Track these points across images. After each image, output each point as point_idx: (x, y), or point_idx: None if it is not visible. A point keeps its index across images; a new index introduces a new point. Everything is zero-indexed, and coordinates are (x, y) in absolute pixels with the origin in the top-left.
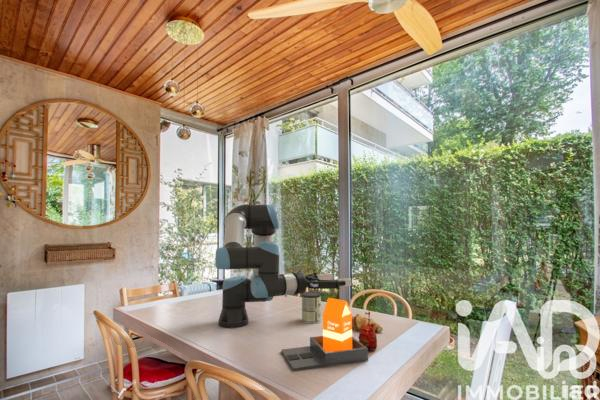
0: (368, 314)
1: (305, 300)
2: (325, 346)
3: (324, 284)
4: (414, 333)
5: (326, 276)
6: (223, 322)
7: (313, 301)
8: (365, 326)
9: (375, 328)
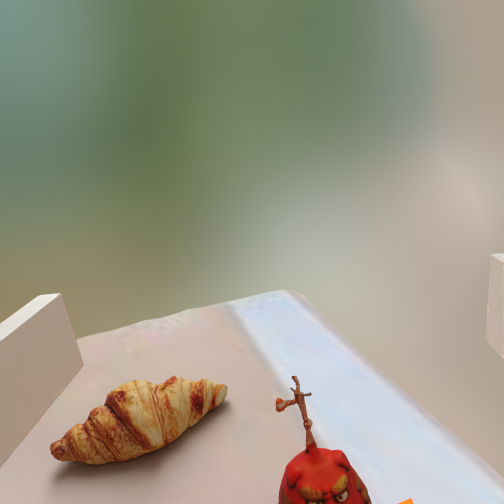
0: (298, 403)
1: None
2: None
3: None
4: (285, 342)
5: (22, 365)
6: None
7: None
8: (311, 470)
9: (209, 402)
